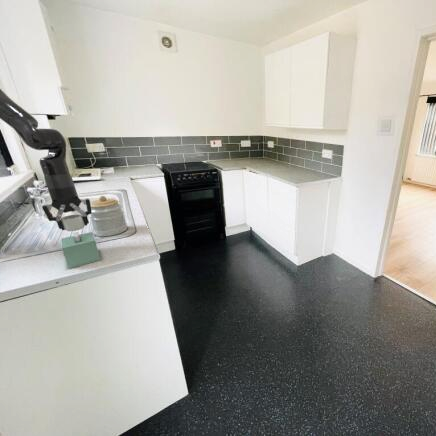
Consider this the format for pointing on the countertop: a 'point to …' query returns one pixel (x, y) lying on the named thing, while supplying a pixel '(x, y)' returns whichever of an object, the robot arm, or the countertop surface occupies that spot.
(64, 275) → the countertop surface
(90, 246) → the tissue box
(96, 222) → the jar
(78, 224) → the bowl
